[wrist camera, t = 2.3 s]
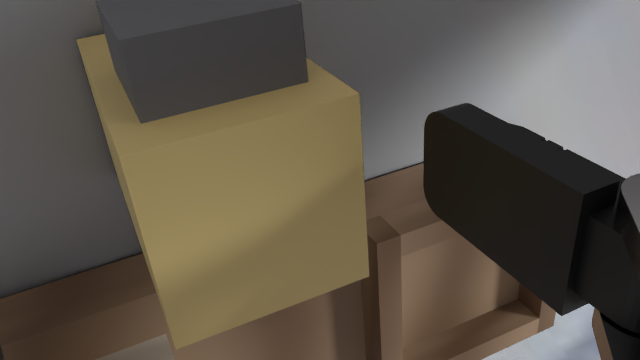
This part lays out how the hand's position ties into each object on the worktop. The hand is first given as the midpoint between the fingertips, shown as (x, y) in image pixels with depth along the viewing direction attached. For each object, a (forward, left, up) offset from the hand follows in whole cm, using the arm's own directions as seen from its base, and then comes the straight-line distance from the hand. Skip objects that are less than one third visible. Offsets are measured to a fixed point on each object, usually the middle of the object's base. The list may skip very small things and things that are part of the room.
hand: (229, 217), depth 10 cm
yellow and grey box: (-1, 0, -7) cm, 7 cm away
